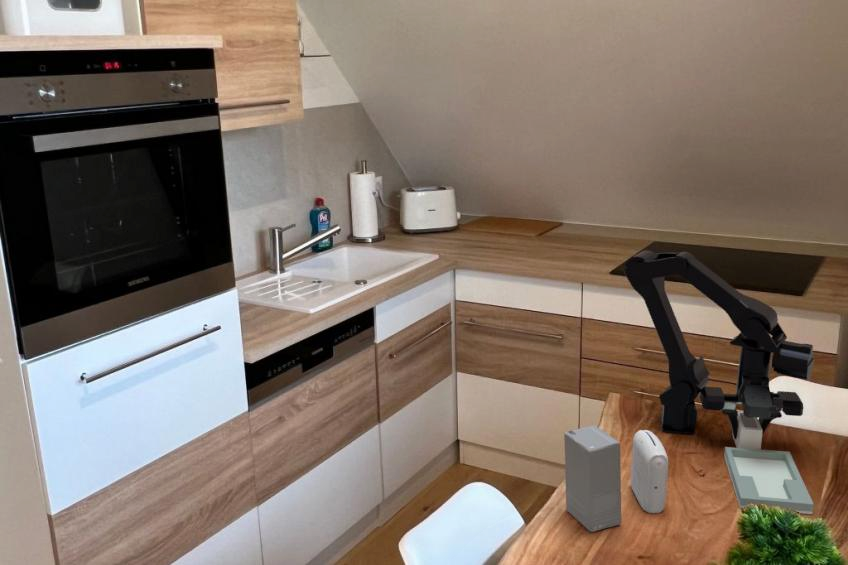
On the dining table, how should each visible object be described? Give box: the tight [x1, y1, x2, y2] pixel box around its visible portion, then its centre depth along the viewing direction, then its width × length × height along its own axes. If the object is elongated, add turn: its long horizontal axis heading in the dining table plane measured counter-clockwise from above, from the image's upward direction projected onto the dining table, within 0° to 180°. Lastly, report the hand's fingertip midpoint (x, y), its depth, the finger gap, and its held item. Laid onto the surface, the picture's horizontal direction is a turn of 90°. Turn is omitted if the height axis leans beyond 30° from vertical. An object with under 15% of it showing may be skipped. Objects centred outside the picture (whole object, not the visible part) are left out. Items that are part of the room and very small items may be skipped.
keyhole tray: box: [723, 446, 815, 515], centre depth 153 cm, size 12×19×2 cm, turn 169°
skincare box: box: [563, 424, 622, 533], centre depth 141 cm, size 8×7×16 cm
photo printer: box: [629, 429, 669, 514], centre depth 147 cm, size 10×4×12 cm, turn 2°
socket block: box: [732, 411, 763, 450], centre depth 167 cm, size 4×8×6 cm, turn 169°
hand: (746, 439), depth 167 cm, fingers closed on socket block, 4 cm apart
